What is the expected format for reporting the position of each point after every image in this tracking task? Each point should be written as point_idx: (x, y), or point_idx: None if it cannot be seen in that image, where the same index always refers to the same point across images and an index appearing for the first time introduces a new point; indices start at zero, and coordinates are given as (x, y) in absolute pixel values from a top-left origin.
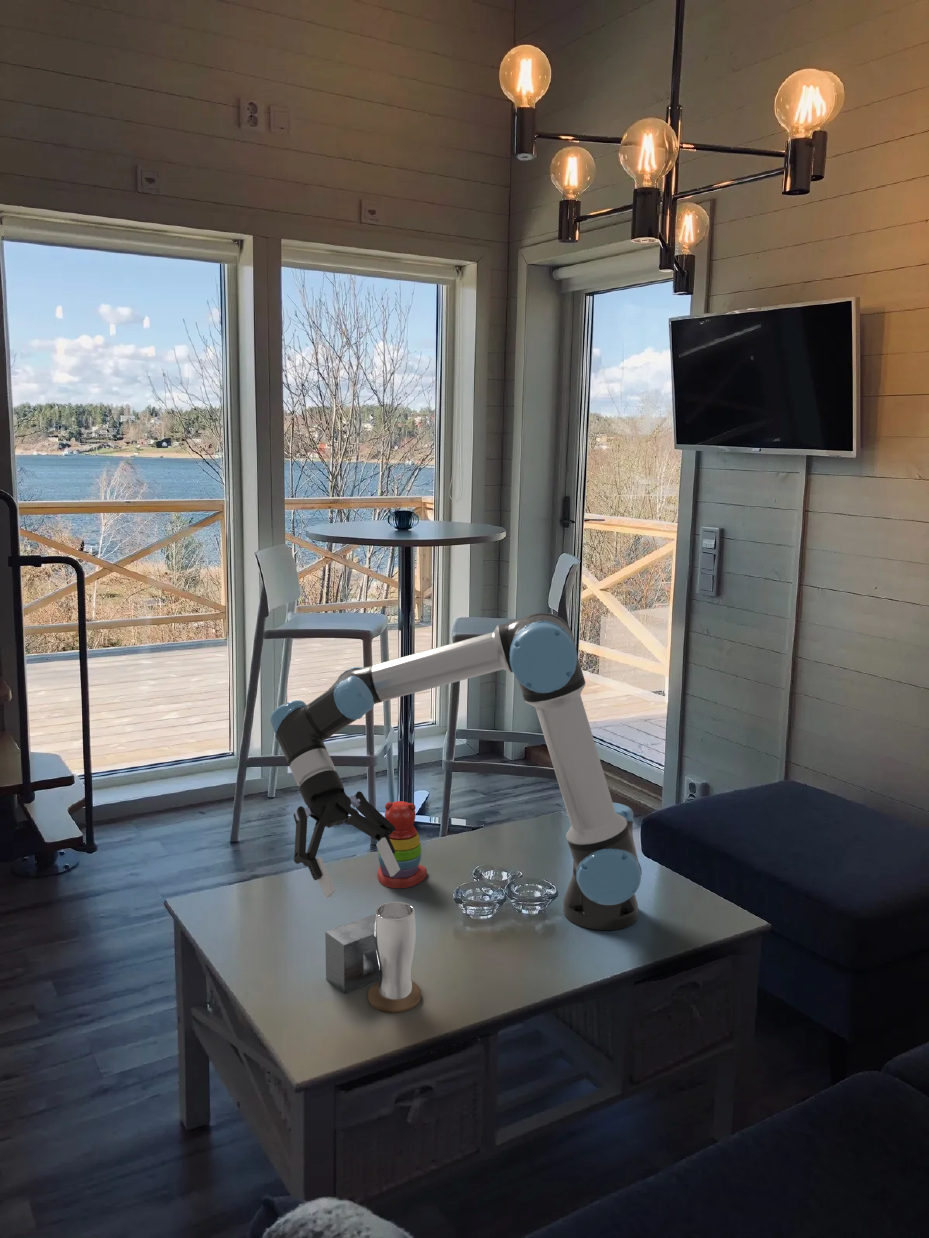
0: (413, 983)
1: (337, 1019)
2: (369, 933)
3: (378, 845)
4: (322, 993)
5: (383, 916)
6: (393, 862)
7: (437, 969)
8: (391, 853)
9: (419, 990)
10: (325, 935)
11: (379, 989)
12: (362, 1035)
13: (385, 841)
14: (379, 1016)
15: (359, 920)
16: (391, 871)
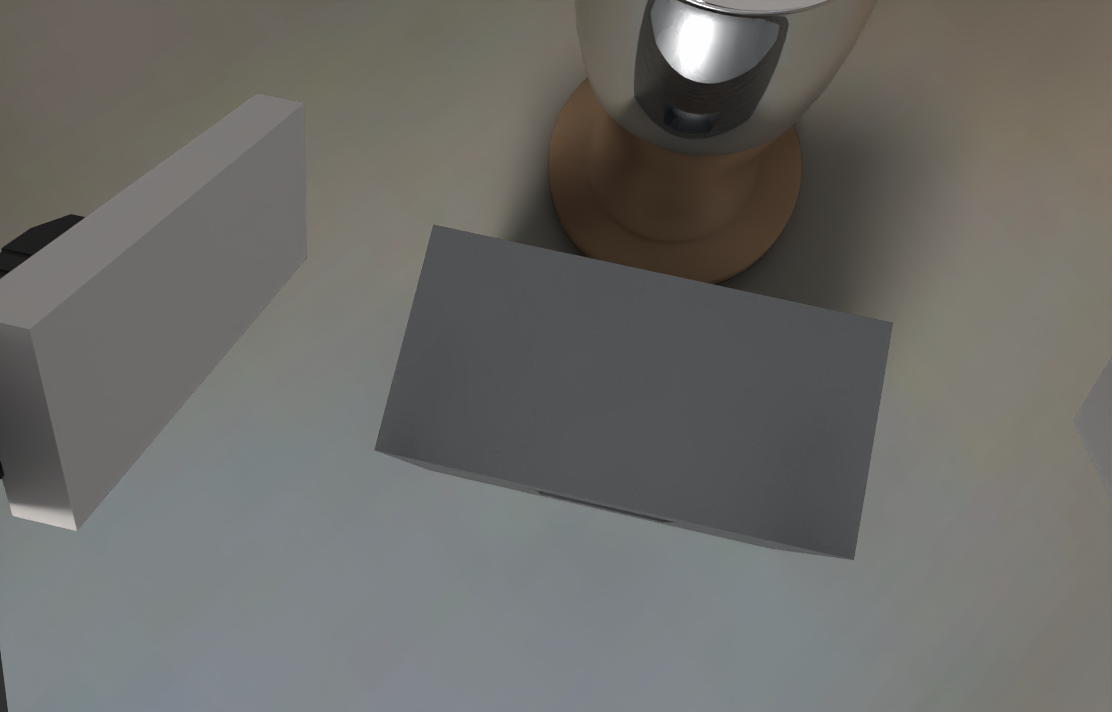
0: (558, 144)
1: (972, 252)
2: (666, 299)
3: (94, 456)
4: (875, 463)
5: (710, 71)
6: (255, 140)
7: (353, 176)
8: (165, 179)
9: (587, 84)
10: (843, 558)
11: (754, 180)
12: (976, 89)
13: (44, 279)
14: (826, 127)
15: (572, 485)
16: (290, 222)
